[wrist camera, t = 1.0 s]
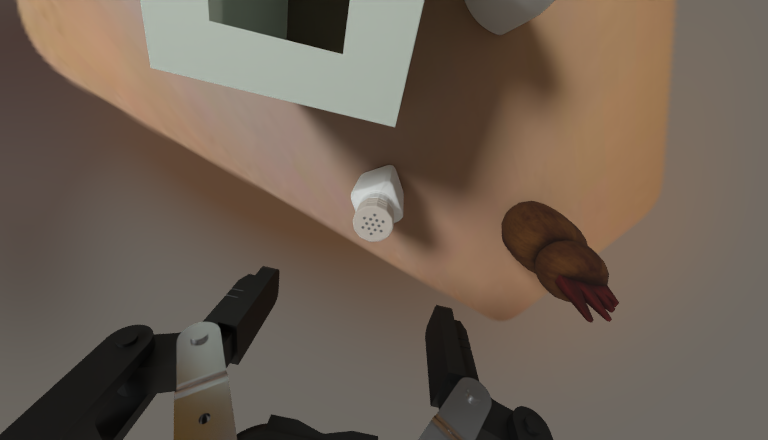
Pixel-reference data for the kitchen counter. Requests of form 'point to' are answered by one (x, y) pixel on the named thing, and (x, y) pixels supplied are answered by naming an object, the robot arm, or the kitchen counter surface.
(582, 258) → the wooden figurine
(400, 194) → the salt shaker
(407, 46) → the tissue box
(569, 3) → the kitchen counter surface
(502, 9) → the eye dropper bottle
